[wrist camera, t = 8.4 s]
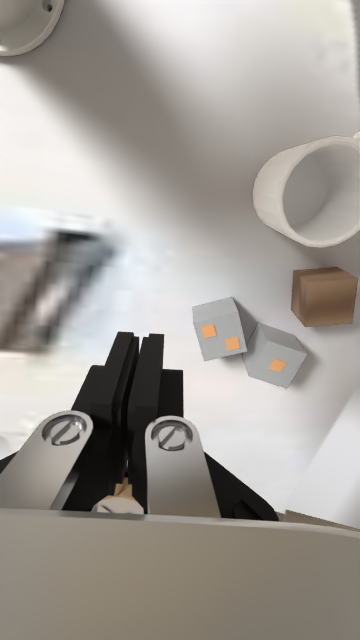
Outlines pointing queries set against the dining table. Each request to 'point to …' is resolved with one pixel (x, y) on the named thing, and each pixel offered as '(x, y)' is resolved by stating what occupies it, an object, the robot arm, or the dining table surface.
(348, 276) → the plain block
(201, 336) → the block two
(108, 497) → the alarm clock
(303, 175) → the mug
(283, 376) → the block one
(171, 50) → the dining table surface
